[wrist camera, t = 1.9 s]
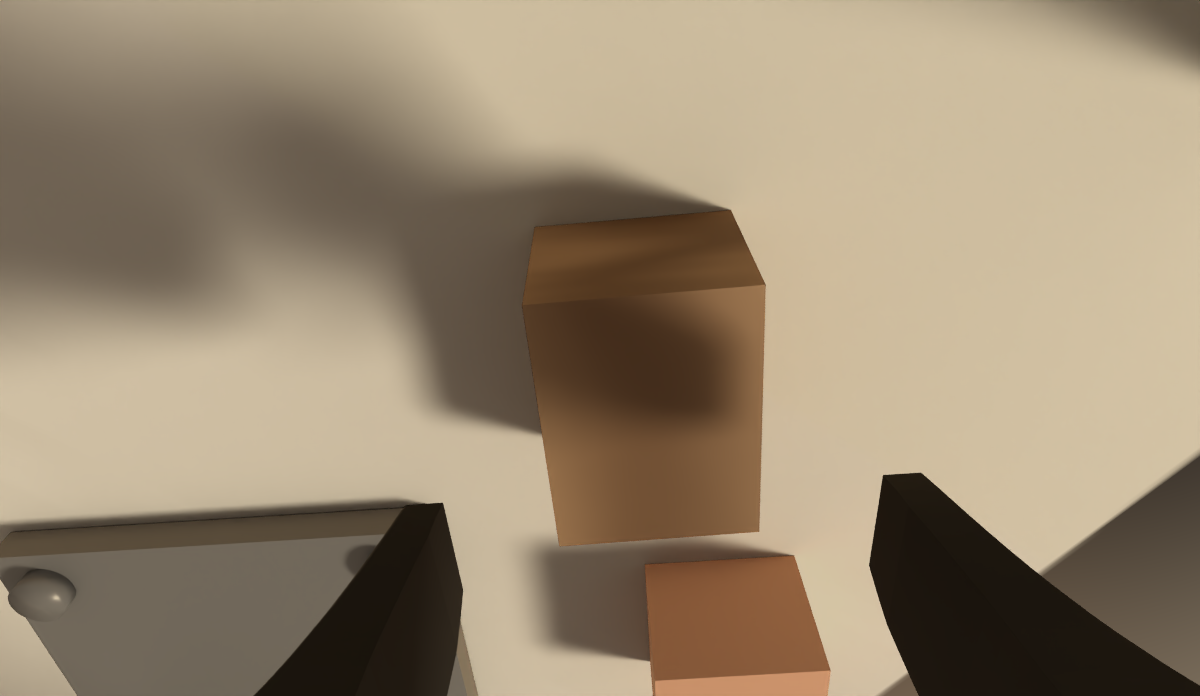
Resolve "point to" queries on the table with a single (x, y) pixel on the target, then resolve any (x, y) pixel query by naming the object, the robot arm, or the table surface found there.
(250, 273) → the table surface
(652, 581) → the terracotta block
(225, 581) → the base plate
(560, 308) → the walnut brick
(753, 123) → the table surface
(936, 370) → the table surface
